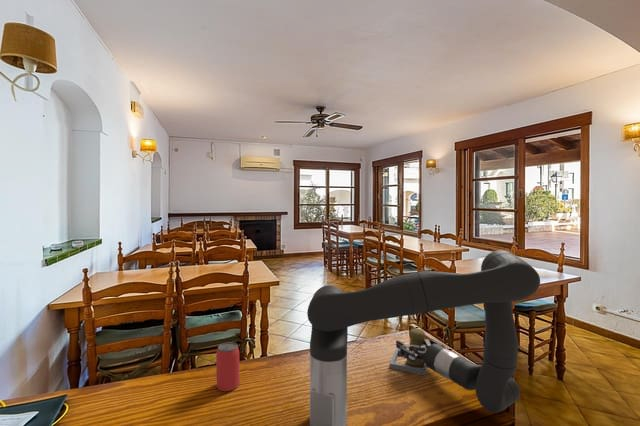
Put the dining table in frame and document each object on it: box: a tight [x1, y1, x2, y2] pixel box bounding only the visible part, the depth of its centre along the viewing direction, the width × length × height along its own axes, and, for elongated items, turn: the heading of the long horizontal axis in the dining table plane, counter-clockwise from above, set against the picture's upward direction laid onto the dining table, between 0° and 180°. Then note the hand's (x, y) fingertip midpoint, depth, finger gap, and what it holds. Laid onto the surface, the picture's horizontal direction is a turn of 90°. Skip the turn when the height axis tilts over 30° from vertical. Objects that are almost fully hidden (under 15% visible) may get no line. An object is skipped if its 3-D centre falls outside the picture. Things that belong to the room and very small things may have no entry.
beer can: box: [215, 341, 240, 392], centre depth 93 cm, size 7×7×12 cm
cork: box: [406, 327, 426, 368], centre depth 106 cm, size 6×6×11 cm
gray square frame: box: [389, 348, 428, 376], centre depth 106 cm, size 12×12×2 cm
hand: (406, 341), depth 107 cm, fingers open, 8 cm apart
